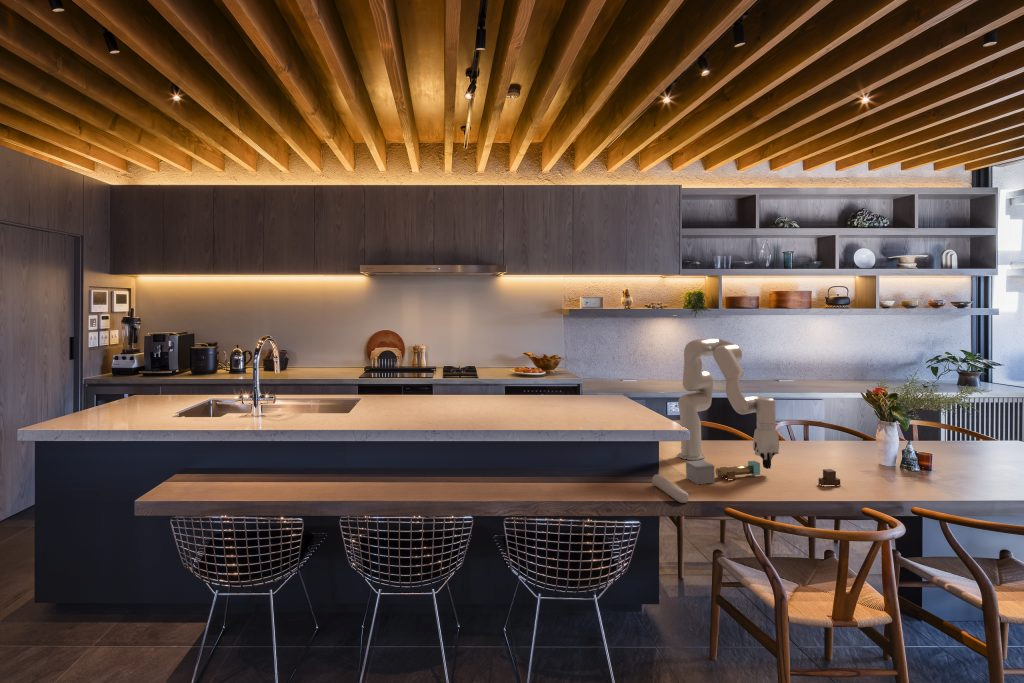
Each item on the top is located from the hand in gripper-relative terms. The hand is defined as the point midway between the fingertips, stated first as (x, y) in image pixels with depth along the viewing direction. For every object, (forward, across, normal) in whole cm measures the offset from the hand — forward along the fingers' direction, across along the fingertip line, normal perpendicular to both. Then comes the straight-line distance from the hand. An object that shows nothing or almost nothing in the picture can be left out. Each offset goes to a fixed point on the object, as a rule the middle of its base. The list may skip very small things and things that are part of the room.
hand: (766, 467), depth 266 cm
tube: (+4, +50, +14) cm, 52 cm away
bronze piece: (+2, +14, 0) cm, 14 cm away
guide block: (+3, +19, 0) cm, 19 cm away
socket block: (+3, +31, 0) cm, 31 cm away
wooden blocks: (+4, -15, +22) cm, 27 cm away
